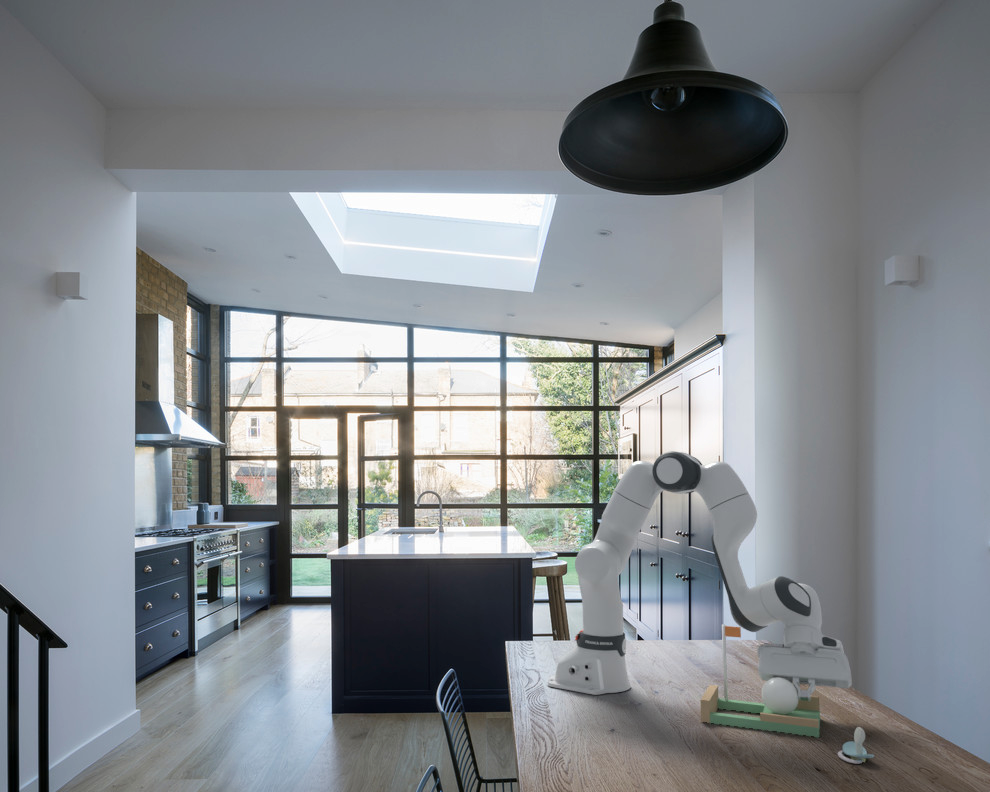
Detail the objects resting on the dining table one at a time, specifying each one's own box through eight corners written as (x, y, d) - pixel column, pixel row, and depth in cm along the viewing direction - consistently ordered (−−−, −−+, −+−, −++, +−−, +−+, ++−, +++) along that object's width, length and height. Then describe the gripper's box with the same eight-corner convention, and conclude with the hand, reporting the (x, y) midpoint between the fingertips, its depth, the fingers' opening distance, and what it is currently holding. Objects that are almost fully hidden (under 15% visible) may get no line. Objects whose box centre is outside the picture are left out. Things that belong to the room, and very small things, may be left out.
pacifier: (847, 767, 144) (878, 766, 143) (844, 733, 144) (875, 733, 144) (832, 753, 151) (861, 753, 151) (829, 721, 152) (859, 721, 151)
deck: (701, 722, 170) (698, 633, 172) (710, 705, 182) (707, 622, 185) (819, 737, 159) (814, 642, 162) (820, 718, 172) (815, 630, 174)
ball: (764, 720, 167) (756, 683, 168) (767, 710, 174) (759, 675, 176) (801, 717, 164) (792, 680, 165) (802, 707, 171) (794, 672, 173)
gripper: (756, 635, 180) (754, 686, 170) (848, 641, 171) (852, 696, 161) (758, 650, 183) (757, 701, 173) (849, 657, 175) (853, 712, 165)
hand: (804, 699), depth 167 cm, fingers closed
